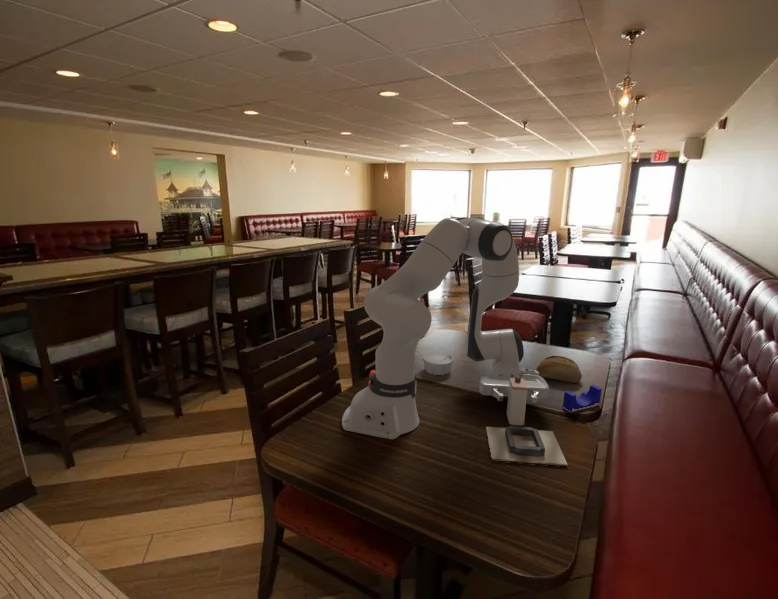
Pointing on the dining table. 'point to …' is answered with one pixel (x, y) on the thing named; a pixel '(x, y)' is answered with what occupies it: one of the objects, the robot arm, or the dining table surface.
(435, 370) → the ramekin
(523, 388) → the white and orange block
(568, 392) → the cable clip
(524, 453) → the board
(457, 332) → the dining table surface
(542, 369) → the bread roll
